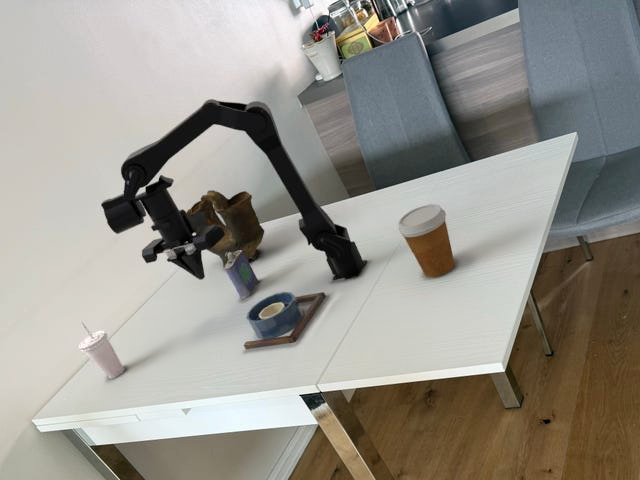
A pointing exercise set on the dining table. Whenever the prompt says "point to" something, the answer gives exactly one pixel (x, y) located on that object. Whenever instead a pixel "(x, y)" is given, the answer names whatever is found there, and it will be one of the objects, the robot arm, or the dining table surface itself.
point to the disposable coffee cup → (428, 239)
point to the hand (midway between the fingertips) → (202, 278)
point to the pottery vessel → (231, 223)
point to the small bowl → (271, 310)
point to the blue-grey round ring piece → (275, 316)
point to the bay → (317, 300)
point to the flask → (241, 273)
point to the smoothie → (101, 352)
